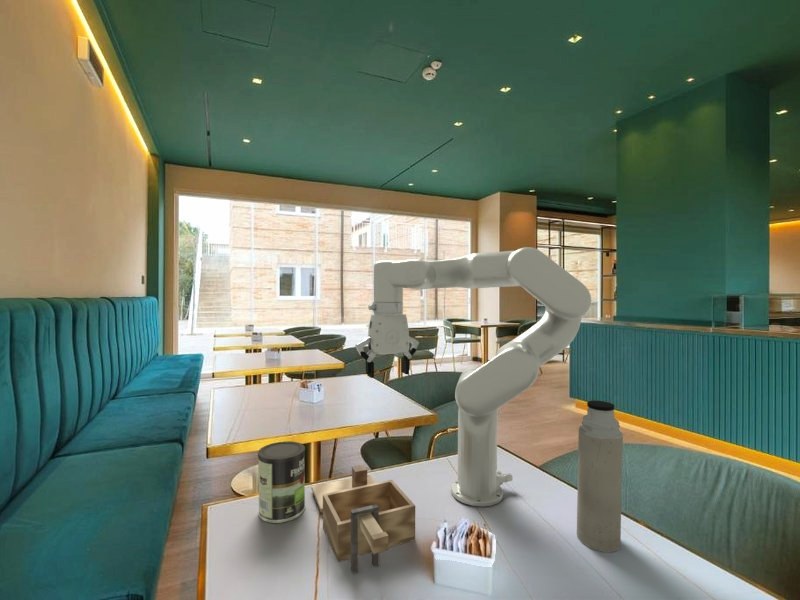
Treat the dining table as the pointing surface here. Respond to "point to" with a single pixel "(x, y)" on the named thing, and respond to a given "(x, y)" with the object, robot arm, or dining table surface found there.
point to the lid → (342, 484)
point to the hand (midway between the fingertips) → (388, 375)
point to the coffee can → (281, 481)
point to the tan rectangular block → (373, 533)
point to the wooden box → (376, 499)
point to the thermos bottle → (599, 478)
